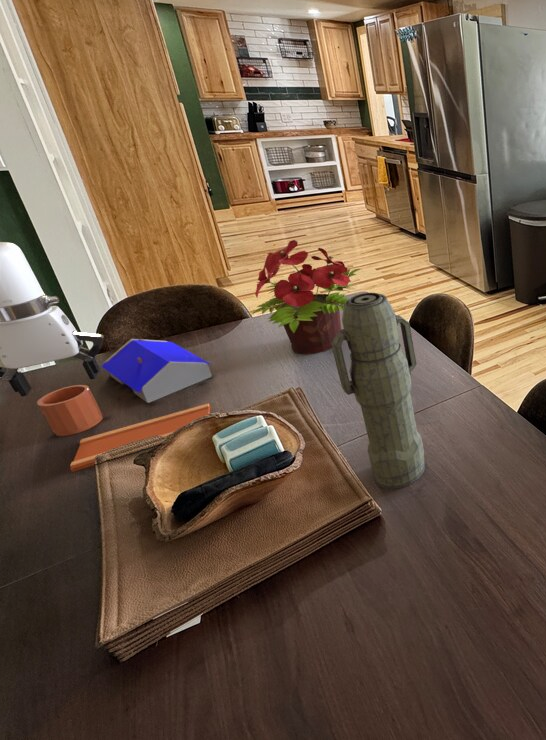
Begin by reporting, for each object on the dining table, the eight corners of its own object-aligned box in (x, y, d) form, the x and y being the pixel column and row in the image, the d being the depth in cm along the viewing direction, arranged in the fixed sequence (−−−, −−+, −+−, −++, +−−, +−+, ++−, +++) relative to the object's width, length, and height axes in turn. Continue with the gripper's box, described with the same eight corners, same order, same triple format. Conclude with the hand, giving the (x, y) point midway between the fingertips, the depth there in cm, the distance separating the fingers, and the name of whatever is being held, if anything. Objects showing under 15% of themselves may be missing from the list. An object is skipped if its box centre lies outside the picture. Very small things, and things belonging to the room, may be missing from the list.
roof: (105, 377, 115) (93, 350, 112) (175, 352, 126) (165, 327, 124) (143, 404, 105) (131, 376, 102) (215, 375, 116) (206, 349, 113)
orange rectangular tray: (71, 472, 87) (69, 467, 86) (84, 442, 94) (81, 437, 94) (209, 430, 97) (207, 425, 97) (210, 406, 105) (208, 402, 104)
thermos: (442, 463, 89) (415, 293, 76) (383, 503, 80) (341, 319, 67) (415, 443, 94) (385, 280, 80) (357, 478, 85) (312, 303, 72)
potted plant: (274, 331, 137) (244, 231, 126) (375, 315, 147) (356, 222, 136) (250, 385, 112) (210, 266, 101) (374, 362, 122) (351, 252, 111)
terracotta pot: (49, 441, 94) (32, 410, 91) (59, 422, 100) (42, 392, 97) (99, 427, 98) (84, 397, 95) (106, 409, 103) (91, 380, 101)
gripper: (87, 290, 96) (122, 362, 103) (-44, 313, 87) (4, 390, 94) (79, 303, 90) (116, 378, 97) (-62, 329, 81) (-10, 409, 88)
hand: (61, 384), depth 95 cm, fingers open, 9 cm apart
